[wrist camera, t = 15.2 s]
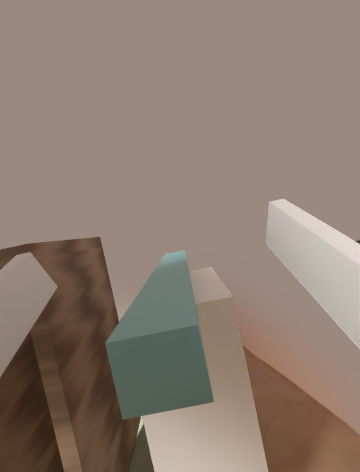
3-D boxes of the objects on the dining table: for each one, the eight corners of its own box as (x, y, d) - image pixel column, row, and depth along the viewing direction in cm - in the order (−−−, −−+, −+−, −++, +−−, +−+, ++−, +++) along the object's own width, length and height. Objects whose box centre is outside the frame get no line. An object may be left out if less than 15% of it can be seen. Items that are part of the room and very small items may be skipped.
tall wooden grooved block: (106, 570, 16) (28, 243, 15) (-1, 587, 16) (-84, 267, 15) (140, 418, 29) (100, 236, 28) (81, 428, 29) (38, 249, 28)
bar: (214, 401, 7) (197, 324, 7) (122, 419, 7) (105, 343, 7) (188, 267, 31) (184, 250, 31) (168, 271, 31) (164, 254, 31)
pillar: (280, 532, 16) (233, 296, 15) (172, 550, 16) (120, 318, 16) (239, 403, 28) (211, 267, 27) (176, 414, 28) (147, 279, 28)
